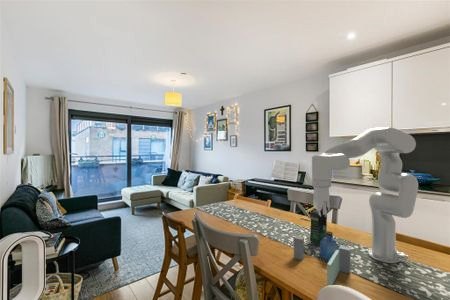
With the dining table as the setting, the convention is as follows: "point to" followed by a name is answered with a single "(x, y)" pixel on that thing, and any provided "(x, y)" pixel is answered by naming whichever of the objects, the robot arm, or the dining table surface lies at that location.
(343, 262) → the door frame
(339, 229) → the dining table surface
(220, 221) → the dining table surface
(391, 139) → the robot arm
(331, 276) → the door
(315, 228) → the coffee jar
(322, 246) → the perfume bottle
